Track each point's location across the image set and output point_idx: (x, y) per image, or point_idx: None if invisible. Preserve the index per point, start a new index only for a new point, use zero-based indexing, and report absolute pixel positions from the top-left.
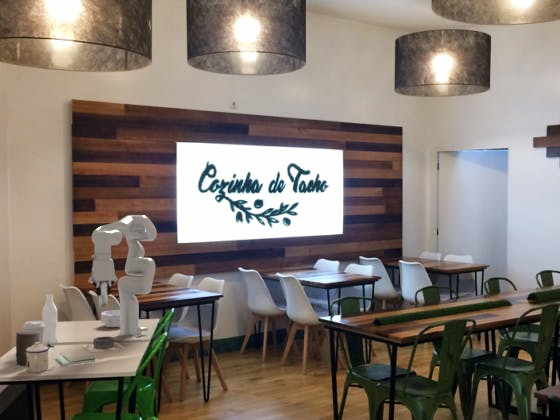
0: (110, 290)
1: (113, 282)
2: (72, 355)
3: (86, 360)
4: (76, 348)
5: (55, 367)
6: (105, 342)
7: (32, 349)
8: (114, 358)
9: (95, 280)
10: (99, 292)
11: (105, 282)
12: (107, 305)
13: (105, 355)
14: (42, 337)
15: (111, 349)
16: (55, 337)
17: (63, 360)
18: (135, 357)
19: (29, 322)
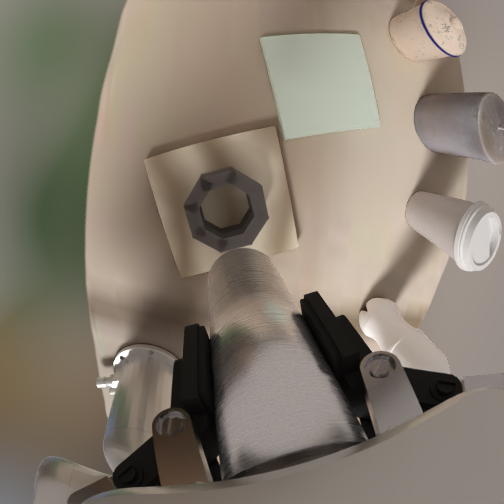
0: (175, 377)
1: (122, 467)
2: (332, 155)
3: (291, 36)
4: (313, 253)
5: (373, 34)
6: (219, 171)
7: (453, 14)
8: (191, 62)
9: (496, 385)
10: (321, 315)
11: (265, 449)
12: (210, 270)
13: (220, 114)
14: (438, 215)
15: (196, 150)
16: (374, 313)
17: (360, 69)
18: (120, 62)
19: (489, 255)
